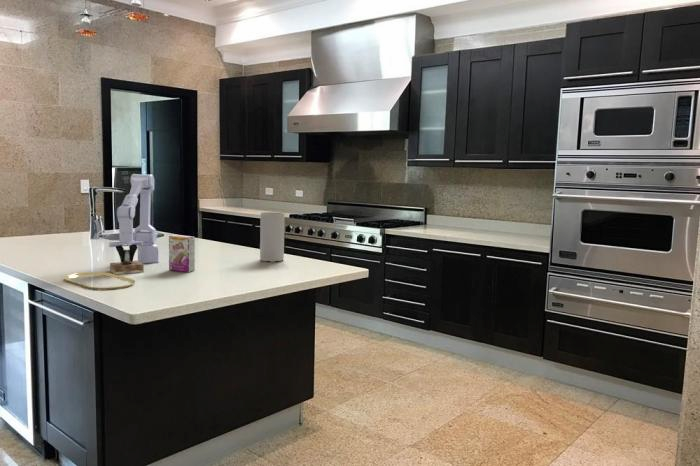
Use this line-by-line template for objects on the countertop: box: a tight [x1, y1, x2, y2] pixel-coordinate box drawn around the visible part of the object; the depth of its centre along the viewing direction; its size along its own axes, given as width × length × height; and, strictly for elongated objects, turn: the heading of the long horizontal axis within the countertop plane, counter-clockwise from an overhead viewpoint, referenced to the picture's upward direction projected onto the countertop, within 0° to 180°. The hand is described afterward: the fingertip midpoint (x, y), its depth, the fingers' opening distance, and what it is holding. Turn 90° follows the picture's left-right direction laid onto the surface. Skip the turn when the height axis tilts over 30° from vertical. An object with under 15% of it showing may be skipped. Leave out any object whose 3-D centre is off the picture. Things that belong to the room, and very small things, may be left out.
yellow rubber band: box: [64, 271, 136, 290], centre depth 227 cm, size 19×35×2 cm, turn 53°
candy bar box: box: [168, 234, 196, 273], centre depth 254 cm, size 11×5×16 cm, turn 71°
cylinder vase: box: [259, 211, 285, 263], centre depth 289 cm, size 12×12×25 cm
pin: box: [123, 249, 131, 265], centre depth 250 cm, size 4×4×8 cm
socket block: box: [109, 260, 145, 275], centre depth 250 cm, size 12×10×4 cm
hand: (126, 261), depth 250 cm, fingers closed on pin, 3 cm apart
